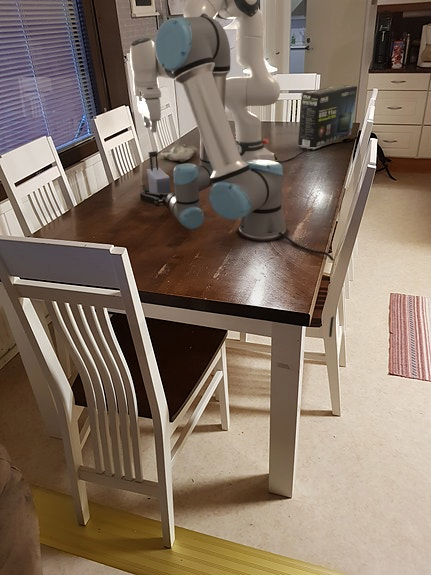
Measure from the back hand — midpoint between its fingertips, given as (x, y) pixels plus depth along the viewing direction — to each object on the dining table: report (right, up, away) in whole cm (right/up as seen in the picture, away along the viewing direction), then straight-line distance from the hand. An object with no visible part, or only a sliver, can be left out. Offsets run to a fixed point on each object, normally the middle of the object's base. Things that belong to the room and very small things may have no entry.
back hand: (150, 129), depth 172 cm
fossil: (+6, +6, +58) cm, 58 cm away
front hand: (+4, -21, +1) cm, 21 cm away
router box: (+83, +18, +73) cm, 112 cm away
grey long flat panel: (+2, -16, +5) cm, 17 cm away
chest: (+3, -24, +9) cm, 26 cm away
